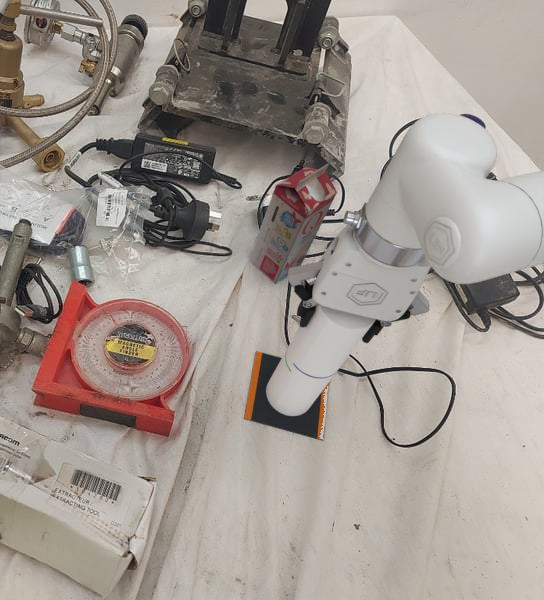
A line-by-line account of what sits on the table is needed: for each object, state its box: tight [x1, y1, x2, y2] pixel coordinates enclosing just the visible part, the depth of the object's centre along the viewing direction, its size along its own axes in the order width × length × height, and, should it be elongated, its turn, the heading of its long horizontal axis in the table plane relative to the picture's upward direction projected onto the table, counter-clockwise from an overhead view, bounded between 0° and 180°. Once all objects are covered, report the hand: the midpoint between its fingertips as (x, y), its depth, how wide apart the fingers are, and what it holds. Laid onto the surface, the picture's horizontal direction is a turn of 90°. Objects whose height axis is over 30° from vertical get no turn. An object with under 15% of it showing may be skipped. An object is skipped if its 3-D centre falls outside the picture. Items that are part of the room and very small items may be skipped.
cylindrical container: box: [266, 304, 376, 416], centre depth 79 cm, size 7×7×25 cm
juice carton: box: [248, 163, 338, 285], centre depth 94 cm, size 7×7×22 cm
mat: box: [243, 350, 330, 440], centre depth 89 cm, size 12×12×1 cm
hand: (334, 325), depth 72 cm, fingers closed on cylindrical container, 7 cm apart
